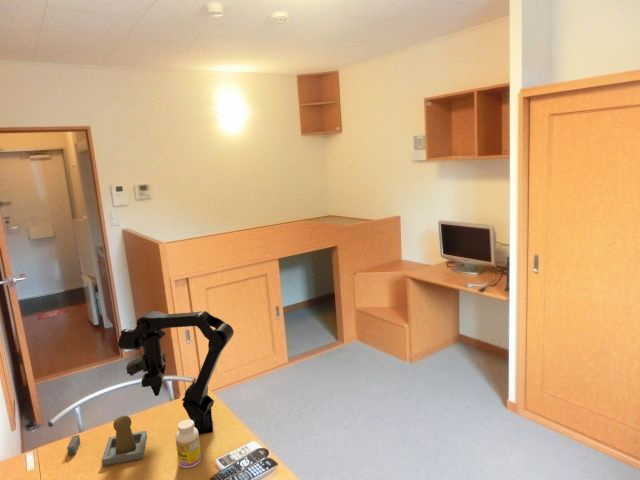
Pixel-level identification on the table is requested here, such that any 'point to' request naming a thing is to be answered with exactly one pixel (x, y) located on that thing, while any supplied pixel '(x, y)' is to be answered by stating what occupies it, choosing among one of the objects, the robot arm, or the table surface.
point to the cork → (124, 435)
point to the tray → (114, 459)
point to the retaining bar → (73, 445)
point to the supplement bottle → (188, 444)
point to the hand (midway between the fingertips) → (157, 392)
